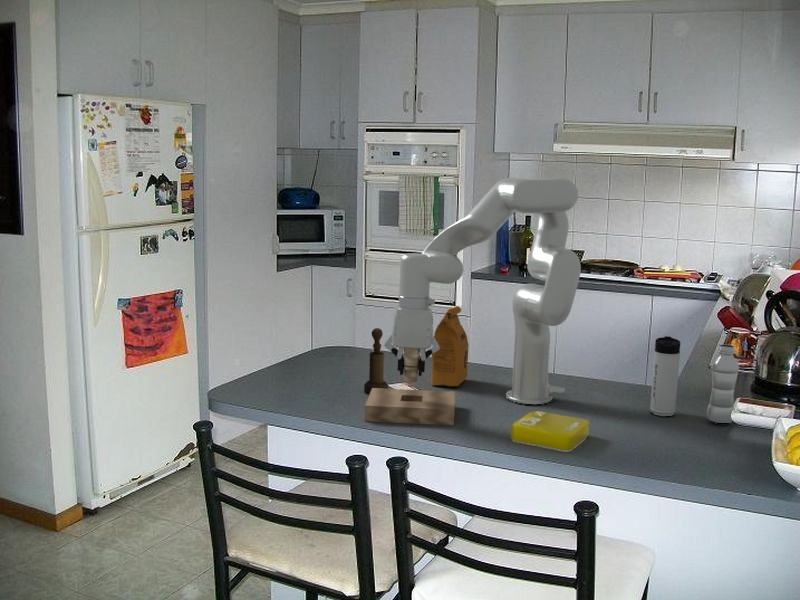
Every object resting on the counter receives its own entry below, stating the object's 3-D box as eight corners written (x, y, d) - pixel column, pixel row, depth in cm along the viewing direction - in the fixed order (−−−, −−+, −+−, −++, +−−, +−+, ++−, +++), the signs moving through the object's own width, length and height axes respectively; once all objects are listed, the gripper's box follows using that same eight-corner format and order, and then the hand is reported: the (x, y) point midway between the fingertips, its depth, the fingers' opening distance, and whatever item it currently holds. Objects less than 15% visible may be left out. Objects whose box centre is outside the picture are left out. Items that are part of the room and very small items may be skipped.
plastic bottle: (700, 420, 222) (706, 344, 219) (721, 418, 225) (728, 342, 221) (717, 428, 216) (724, 349, 213) (739, 425, 219) (746, 348, 215)
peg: (419, 378, 223) (420, 340, 221) (418, 382, 219) (420, 343, 217) (403, 378, 223) (404, 339, 222) (402, 382, 219) (403, 343, 217)
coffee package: (472, 380, 256) (475, 306, 252) (458, 390, 245) (461, 313, 241) (441, 376, 260) (443, 303, 256) (425, 386, 249) (428, 310, 245)
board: (454, 406, 230) (455, 391, 229) (453, 425, 214) (454, 409, 213) (372, 402, 231) (372, 387, 231) (364, 421, 216) (364, 405, 215)
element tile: (569, 455, 196) (570, 435, 195) (507, 443, 203) (508, 423, 203) (590, 437, 209) (592, 418, 208) (532, 426, 216) (533, 407, 215)
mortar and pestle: (389, 389, 244) (390, 326, 241) (386, 396, 238) (388, 331, 235) (365, 388, 245) (366, 325, 242) (362, 394, 238) (363, 330, 235)
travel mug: (674, 411, 230) (680, 337, 226) (675, 418, 224) (681, 342, 220) (649, 408, 231) (655, 335, 228) (649, 416, 225) (655, 340, 222)
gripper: (447, 302, 221) (444, 372, 224) (381, 299, 222) (379, 368, 225) (446, 307, 213) (443, 380, 216) (378, 303, 215) (376, 376, 218)
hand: (410, 373), depth 221 cm, fingers closed on peg, 4 cm apart
